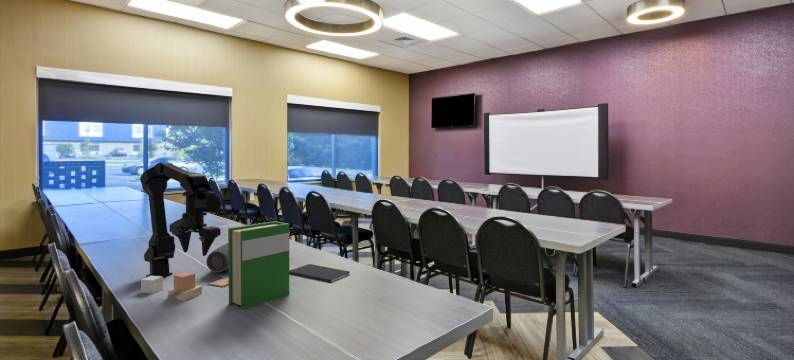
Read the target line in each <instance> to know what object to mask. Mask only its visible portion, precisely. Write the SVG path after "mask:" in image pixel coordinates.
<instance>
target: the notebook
mask: <svg viewBox="0 0 794 360" xmlns="http://www.w3.org/2000/svg"><path fill="white" fill-rule="evenodd" d="M350 273H351V272H350V270H343V269H338V268H334V267H333V268H332V267H327V266H323V265H317V264H313V263H312V264H311V263H308V264H304V265H302V266H299V267H296V268H293V269H291V270H290V269H289V275H292V276H297V277H303V278H306V277H307V279H312V280H316V281H320V280H321V281H322V282H325V281H326V282H327V283H333V282H335V281H337V279H338V280H339V279H343V278H344V276H345V277H347V275H348V276H349V275H350ZM342 277H343V278H342Z"/></svg>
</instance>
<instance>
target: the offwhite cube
mask: <svg viewBox="0 0 794 360" xmlns="http://www.w3.org/2000/svg"><path fill="white" fill-rule="evenodd" d="M163 278H164V277H163V276H149V277H147V276H145V278H141V279H140V285H141V286H140V289H141V290H140V291H141V294H142V293H143V294H155V293H157V292H160V291H162V290H164V288H163V287H164V283H163V282H164V281H163V280H164V279H163Z"/></svg>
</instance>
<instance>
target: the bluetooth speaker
mask: <svg viewBox="0 0 794 360" xmlns="http://www.w3.org/2000/svg"><path fill="white" fill-rule="evenodd" d="M205 261H206V266H207V268H208V269H209V270H210V271H211V272H213V273H221V272H227V271H228V272H229V266H228V242H227V243H225V244H222V245H220V246H219V247H217V248H216V249H214V250H213V251H211V252H210V253H209V254H207V257H206V260H205Z"/></svg>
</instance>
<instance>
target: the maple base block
mask: <svg viewBox="0 0 794 360" xmlns="http://www.w3.org/2000/svg"><path fill="white" fill-rule="evenodd" d="M202 289H203V287H202V285H196V284H195V287H194V288H191V289H188V290H185V291H181V290H177V289H174V287H173V288H170V289H167V298H168V299H170V300H171V299H172V300H177V301H183V302H186V301H189V300H191V299H193V298H195V297H198V296H201V295H202V292H203V290H202Z"/></svg>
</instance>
